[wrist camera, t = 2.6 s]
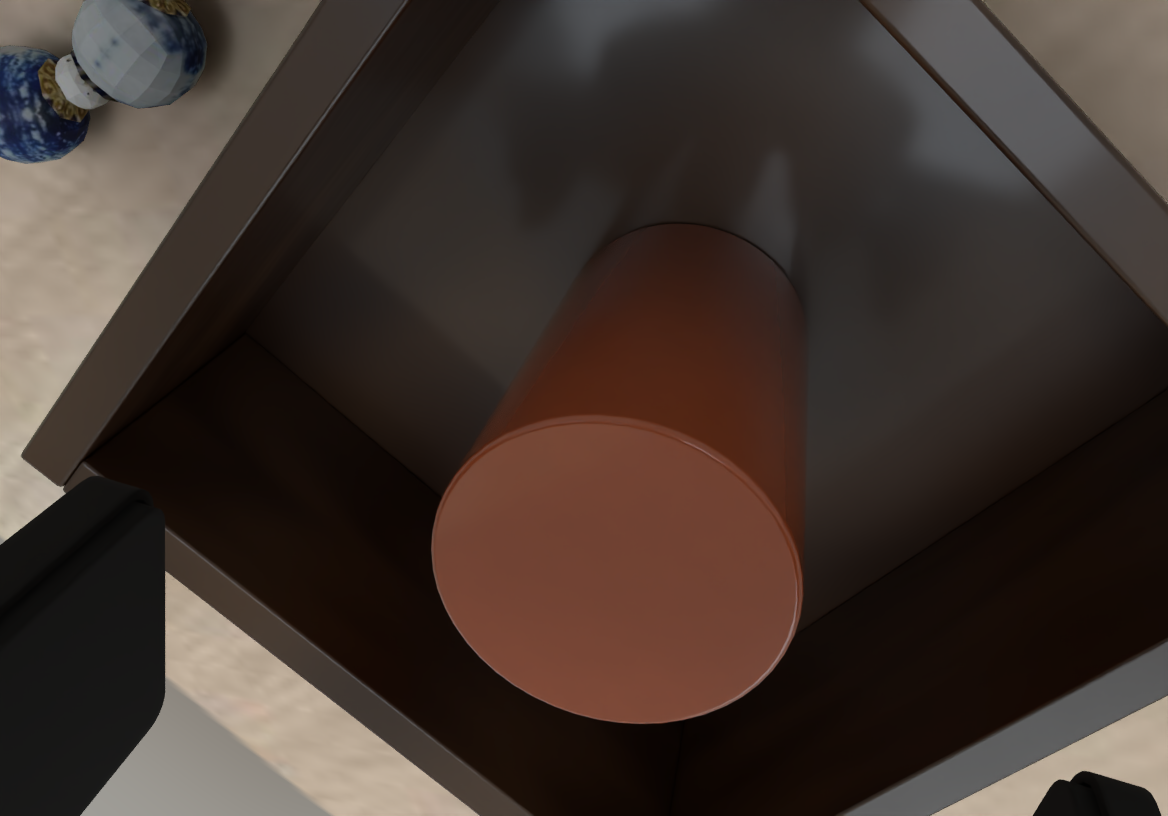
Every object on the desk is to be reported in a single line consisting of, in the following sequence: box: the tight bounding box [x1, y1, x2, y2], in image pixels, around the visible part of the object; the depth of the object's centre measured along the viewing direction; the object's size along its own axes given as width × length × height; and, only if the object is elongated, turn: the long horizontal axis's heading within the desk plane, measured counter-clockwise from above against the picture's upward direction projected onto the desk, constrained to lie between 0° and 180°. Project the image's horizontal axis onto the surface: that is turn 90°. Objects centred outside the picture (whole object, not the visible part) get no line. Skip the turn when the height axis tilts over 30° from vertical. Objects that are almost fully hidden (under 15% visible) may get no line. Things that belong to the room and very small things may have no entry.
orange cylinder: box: [431, 223, 809, 724], centre depth 15 cm, size 4×4×7 cm
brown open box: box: [21, 0, 1168, 816], centre depth 16 cm, size 14×14×6 cm
